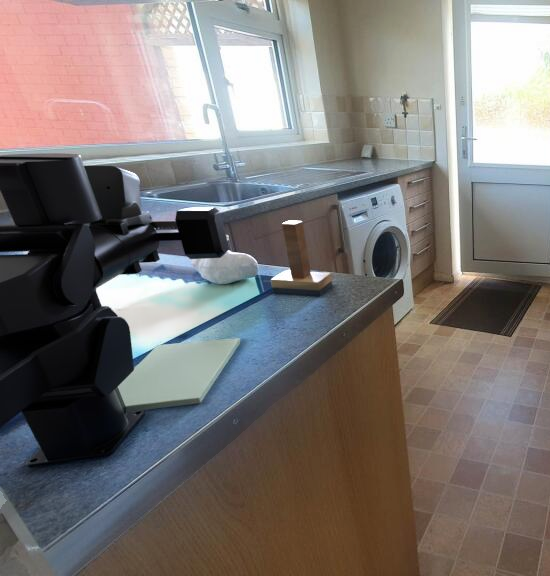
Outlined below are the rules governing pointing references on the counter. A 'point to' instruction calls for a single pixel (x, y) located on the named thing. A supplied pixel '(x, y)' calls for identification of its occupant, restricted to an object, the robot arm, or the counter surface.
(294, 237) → the brush
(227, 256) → the white curved figure
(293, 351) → the counter surface
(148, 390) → the board
